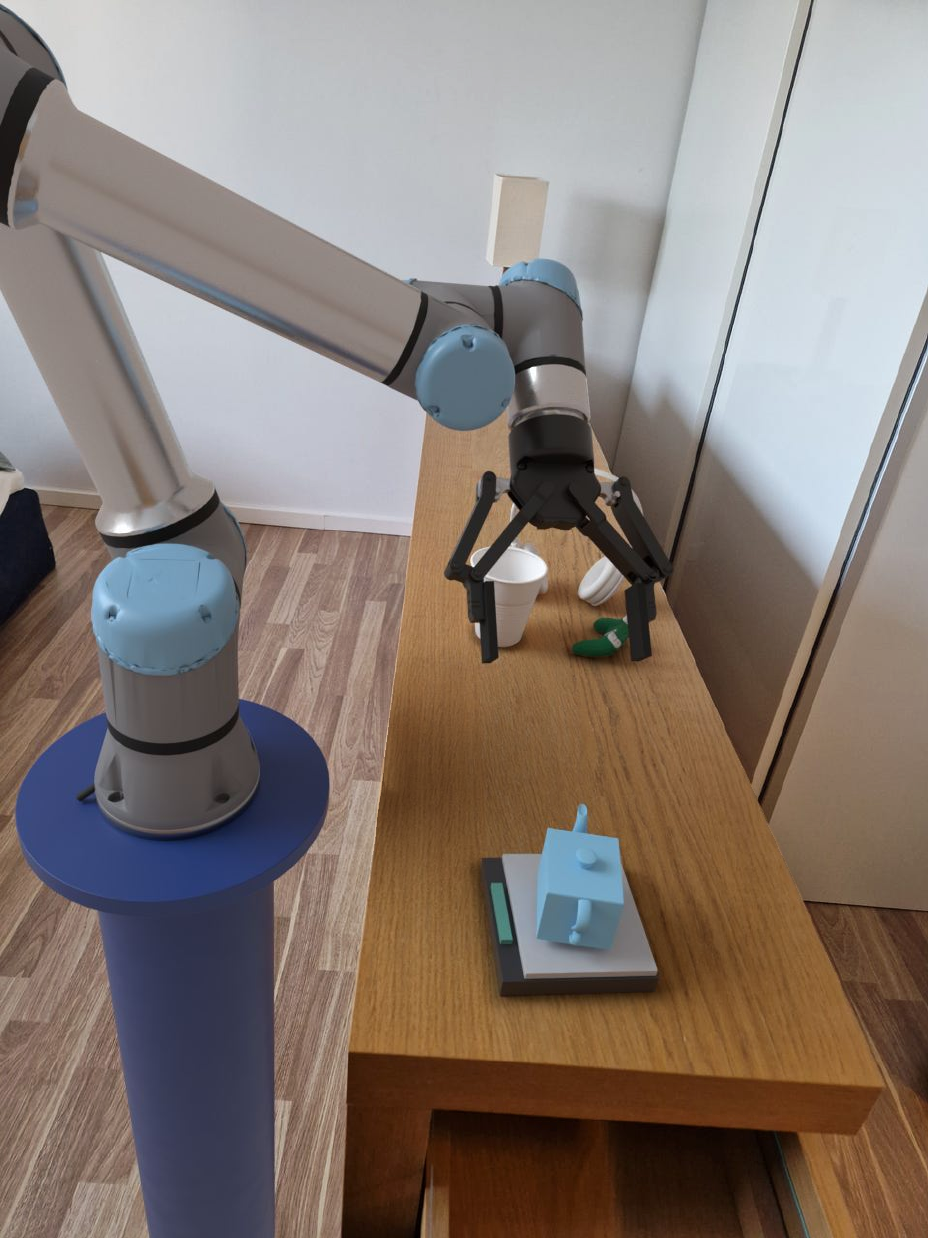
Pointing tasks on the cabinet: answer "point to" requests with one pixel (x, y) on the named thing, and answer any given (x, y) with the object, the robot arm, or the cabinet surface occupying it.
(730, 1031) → the cabinet surface
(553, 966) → the scale
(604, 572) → the headphones
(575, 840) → the teapot
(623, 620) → the green christmas socks
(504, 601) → the cup
